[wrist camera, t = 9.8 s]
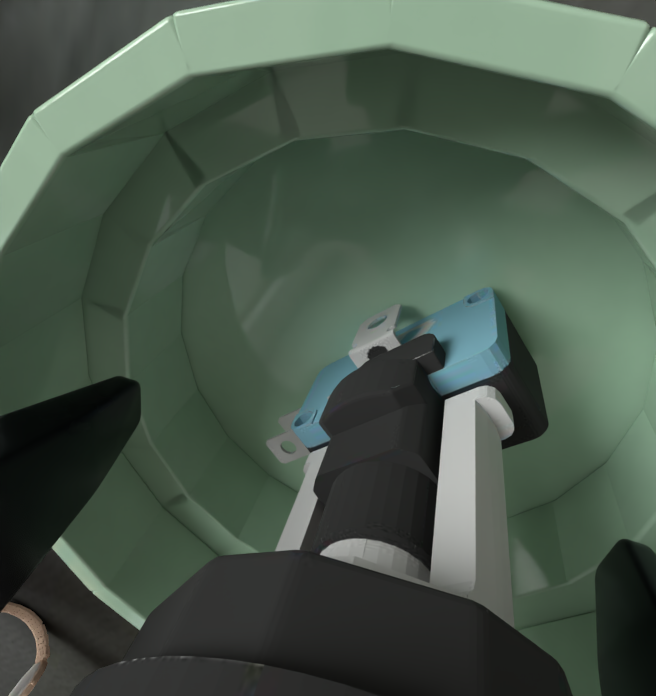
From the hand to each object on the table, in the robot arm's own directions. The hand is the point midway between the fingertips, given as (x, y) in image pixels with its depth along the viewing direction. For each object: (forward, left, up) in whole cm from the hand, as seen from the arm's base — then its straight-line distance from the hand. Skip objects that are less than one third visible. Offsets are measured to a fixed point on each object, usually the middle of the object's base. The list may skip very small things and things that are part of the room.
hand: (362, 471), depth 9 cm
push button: (0, 0, -4) cm, 4 cm away
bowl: (0, 0, -4) cm, 4 cm away
